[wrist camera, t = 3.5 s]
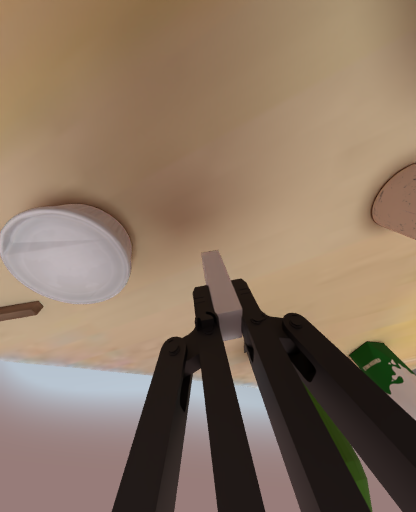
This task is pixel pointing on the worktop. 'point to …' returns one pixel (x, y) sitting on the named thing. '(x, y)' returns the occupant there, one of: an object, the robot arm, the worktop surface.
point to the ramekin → (68, 252)
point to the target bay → (20, 310)
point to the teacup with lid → (398, 203)
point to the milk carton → (388, 374)
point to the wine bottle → (345, 452)
